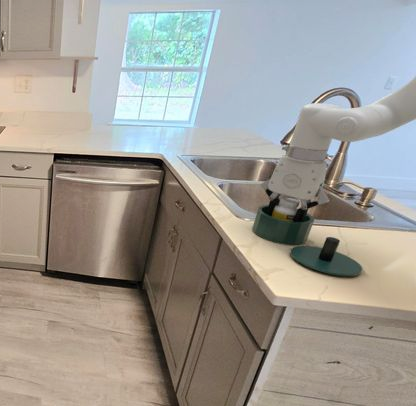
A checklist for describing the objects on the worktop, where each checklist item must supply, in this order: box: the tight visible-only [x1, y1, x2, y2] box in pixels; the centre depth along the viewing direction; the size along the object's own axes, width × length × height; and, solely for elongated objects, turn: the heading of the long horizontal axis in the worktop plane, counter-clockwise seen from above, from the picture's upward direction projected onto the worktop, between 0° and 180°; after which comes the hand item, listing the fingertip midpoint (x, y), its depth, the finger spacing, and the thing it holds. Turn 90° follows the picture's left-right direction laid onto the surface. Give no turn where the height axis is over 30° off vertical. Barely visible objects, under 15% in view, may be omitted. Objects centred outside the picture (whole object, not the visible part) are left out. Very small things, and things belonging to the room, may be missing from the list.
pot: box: [251, 204, 315, 246], centre depth 101 cm, size 12×12×6 cm
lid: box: [290, 236, 363, 277], centre depth 88 cm, size 13×13×7 cm
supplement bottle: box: [272, 197, 301, 222], centre depth 100 cm, size 5×5×10 cm
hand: (284, 216), depth 100 cm, fingers closed on supplement bottle, 5 cm apart
